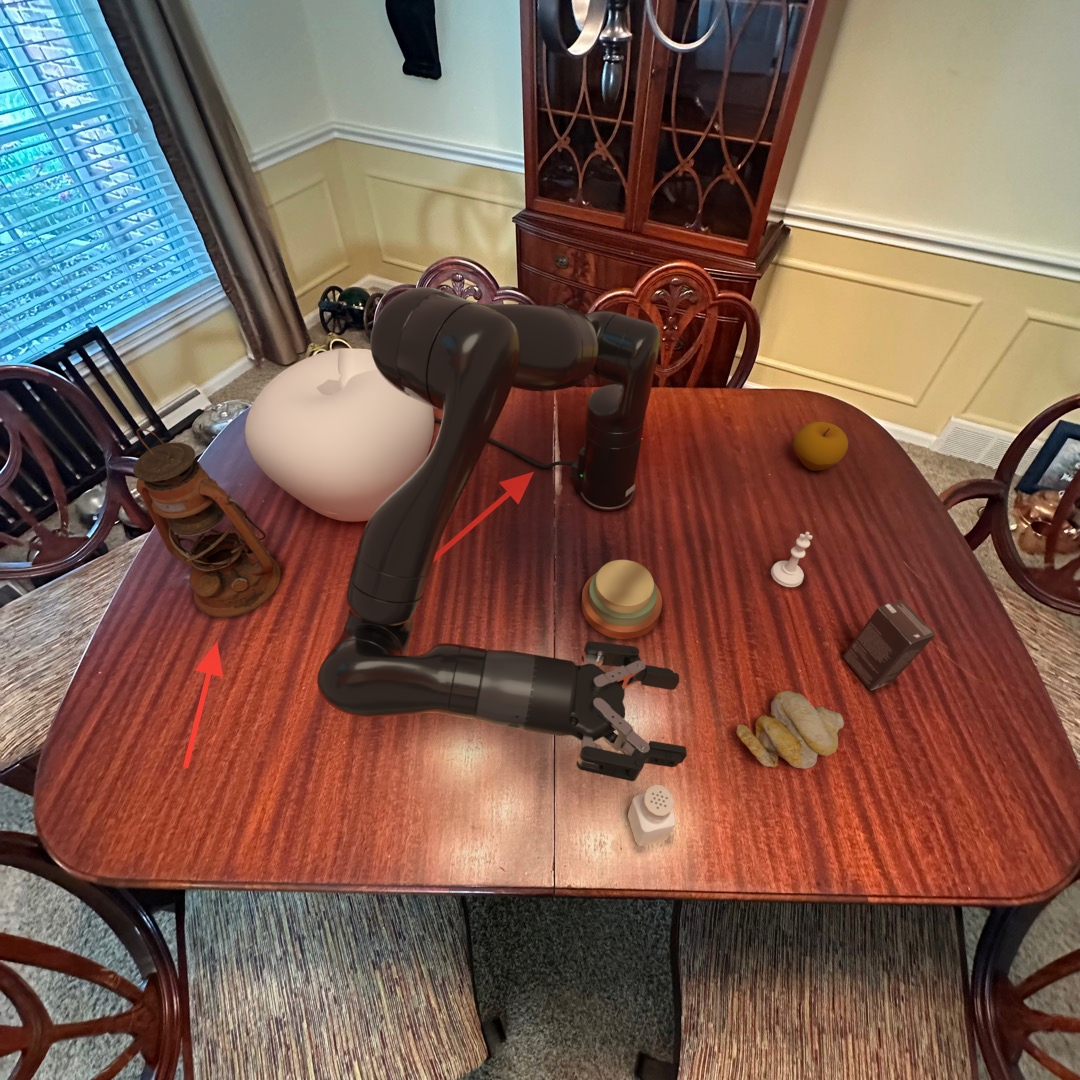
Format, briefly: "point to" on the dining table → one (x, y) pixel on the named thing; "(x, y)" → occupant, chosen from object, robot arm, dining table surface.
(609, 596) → the ring stack
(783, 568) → the chess piece
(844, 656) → the box
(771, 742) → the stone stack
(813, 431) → the apple
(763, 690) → the dining table surface
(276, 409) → the pale giant fruit
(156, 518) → the lantern
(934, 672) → the dining table surface
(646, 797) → the pepper shaker
